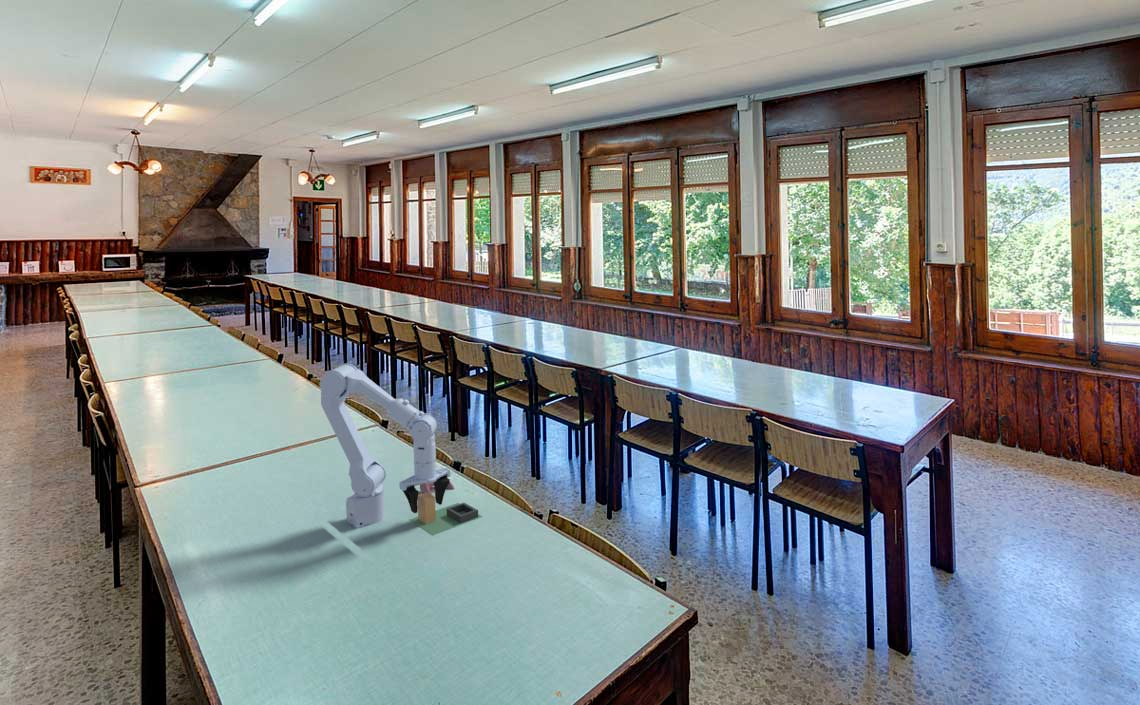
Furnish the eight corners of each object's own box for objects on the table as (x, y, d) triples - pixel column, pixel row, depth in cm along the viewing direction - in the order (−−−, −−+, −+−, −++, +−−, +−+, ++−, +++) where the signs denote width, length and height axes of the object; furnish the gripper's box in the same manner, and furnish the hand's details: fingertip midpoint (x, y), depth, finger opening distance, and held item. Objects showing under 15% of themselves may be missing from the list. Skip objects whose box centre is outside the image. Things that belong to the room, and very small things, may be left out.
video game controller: (448, 493, 191) (441, 472, 192) (456, 491, 188) (449, 469, 189) (422, 504, 183) (415, 481, 184) (431, 501, 180) (423, 478, 181)
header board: (432, 539, 159) (432, 528, 158) (409, 523, 167) (408, 512, 167) (482, 520, 170) (482, 509, 169) (458, 506, 178) (458, 496, 178)
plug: (425, 524, 165) (425, 499, 163) (418, 519, 167) (417, 495, 166) (435, 520, 167) (434, 496, 165) (427, 516, 169) (427, 492, 168)
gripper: (408, 471, 156) (410, 520, 159) (456, 457, 166) (457, 504, 169) (394, 463, 161) (396, 512, 164) (441, 450, 171) (443, 496, 173)
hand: (426, 507), depth 166 cm, fingers open, 7 cm apart
